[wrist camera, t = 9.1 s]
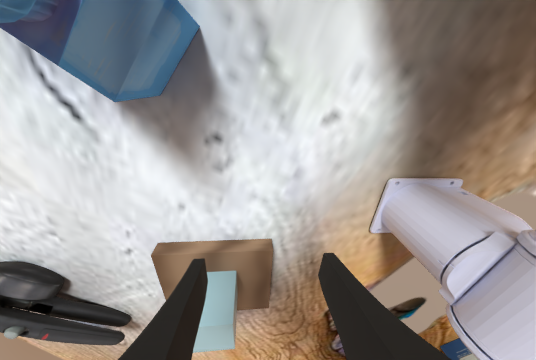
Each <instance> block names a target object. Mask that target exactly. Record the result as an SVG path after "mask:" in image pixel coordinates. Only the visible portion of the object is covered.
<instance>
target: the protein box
mask: <svg viewBox="0 0 536 360" xmlns="http://www.w3.org/2000/svg"><path fill="white" fill-rule="evenodd" d="M440 348H441V349H442V351H443V352H444V353H445V355H446V356H447V357H449V358H450V359H452V360H479V359H477V358H476V357H475V356H474V355H473V354H472V352H471V351H470V350H469V349H468V348H467V347H466V346H465V345H464V343H463V342H462V341H461V339H460V338H458V339H456V340H454V341H451V342H449V343H447V344H444V345H442V346H440Z"/></svg>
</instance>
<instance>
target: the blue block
mask: <svg viewBox="0 0 536 360" xmlns="http://www.w3.org/2000/svg"><path fill="white" fill-rule="evenodd" d="M207 277H208V286H207V293H206V299H205V304H204V308H203V312H202V316H201V320H200V324H199V328H198V332H197V336H196V340H195V345H194V349H193V353H194V352H205V351H216V350H226V349H235V336H236V317H237V297H238V292H237V273H236V271H219V272H207Z"/></svg>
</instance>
